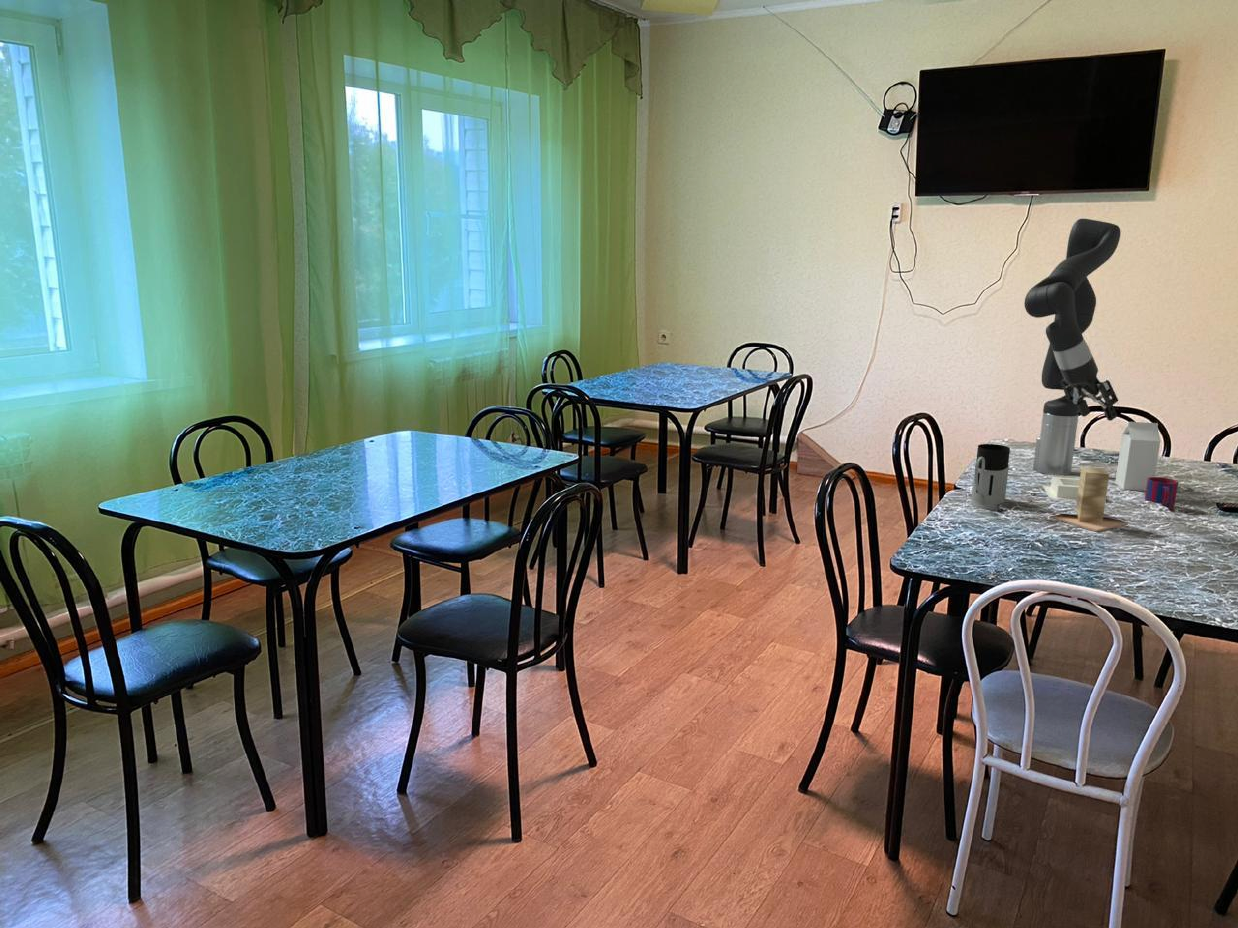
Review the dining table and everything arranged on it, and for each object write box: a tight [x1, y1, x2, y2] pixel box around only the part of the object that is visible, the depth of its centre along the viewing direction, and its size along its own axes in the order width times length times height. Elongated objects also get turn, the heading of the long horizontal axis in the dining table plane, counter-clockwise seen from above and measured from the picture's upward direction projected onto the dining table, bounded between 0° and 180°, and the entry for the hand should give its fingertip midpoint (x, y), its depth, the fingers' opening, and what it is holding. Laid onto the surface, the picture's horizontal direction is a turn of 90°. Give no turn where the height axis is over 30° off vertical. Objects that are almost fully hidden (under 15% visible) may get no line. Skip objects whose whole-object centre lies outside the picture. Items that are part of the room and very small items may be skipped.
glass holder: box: [968, 443, 1011, 511], centre depth 230 cm, size 9×14×15 cm, turn 137°
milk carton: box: [1114, 421, 1161, 492], centre depth 245 cm, size 7×7×19 cm
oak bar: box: [1074, 467, 1110, 523], centre depth 220 cm, size 5×5×12 cm
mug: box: [1144, 476, 1179, 510], centre depth 233 cm, size 7×10×7 cm
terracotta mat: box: [1050, 513, 1129, 532], centre depth 221 cm, size 12×12×1 cm
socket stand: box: [1042, 476, 1107, 504], centre depth 239 cm, size 13×13×4 cm
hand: (1099, 416), depth 225 cm, fingers open, 8 cm apart
